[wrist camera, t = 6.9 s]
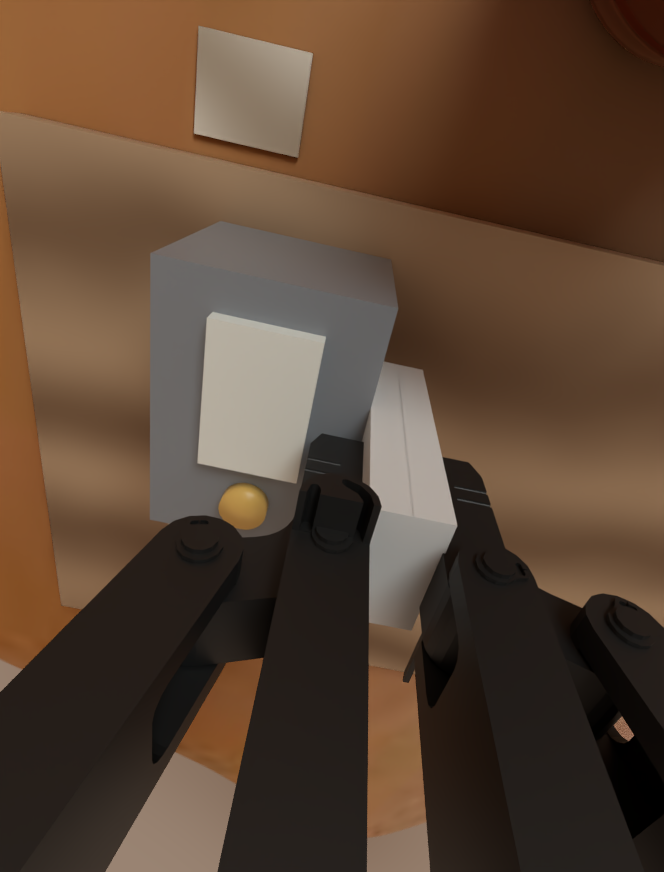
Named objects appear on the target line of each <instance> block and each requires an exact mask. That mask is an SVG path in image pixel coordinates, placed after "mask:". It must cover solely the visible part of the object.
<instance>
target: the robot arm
mask: <svg viewBox="0 0 664 872" xmlns="http://www.w3.org/2000/svg"><path fill="white" fill-rule="evenodd" d="M486 493H487V491H486V488H485V485H484V482H483V479H482V477H481V476H480V474H479V473H478V472H477V471H476V470H475V469H474V468H473V466H472V465H471V464H470V463H469V462H465V461H460V460H455V459H450V458H445V457H442V454H441V449H440V445H439V440H438V436H437V432H436V427H435V423H434V418H433V414H432V409H431V405H430V400H429V396H428V391H427V387H426V382H425V378H424V373H423V370H421V369H416V368H412V367H407V366H402V365H398V364H393V363H388V362H383V366H382V370H381V373H380V377H379V381H378V384H377V388H376V392H375V395H374V399H373V403H372V406H371V409H370V413H369V416H368V420H367V424H366V428H365V431H364V435H363V439H362V442H361V441H356V440H351V439H347V438H342V437H337V436H332V435H327V434H323V433H322V434H321V435H319V436H318V437H317V438H316V439H315V440H314V441H313V442H311V444H310V448H309V453H308V458H307V462H306V467H305V471H304V476H303V481H302V485H301V488H300V490H299V495H298V500H297V505H296V510H295V515H294V518H293V520H292V521H291V522H290V523H289V524H288V525H287V526H286V527H285V528H283V529H282V530H280V531H278V532H276V533H273V534H270V535H265V536H258V537H242V536H241V535H240V534H239V532H238V531H237V530H236V528H235V527H234V526H233V525H231V524H229V523H228V522H226V521H224V520H222V519H220V518H215V517H211V516H207V515H201V516H188V517H184V518H181V519H178V520H175V521H173V522H171V523H170V524H169V525H167V526H166V527H164V528H163V529H161V530H160V531H159V532H158V533H157V534H156V535H155V536H154V537H153V539H152V540H151V541H150V542H149V543H148V544H147V545H146V546H145V547H144V548H143V549H142V550H141V551H140V552H139V553H138V554H137V555H136V556H135V557H134V558H133V559H132V560H131V561H130V562H129V563H128V564H127V565H126V566H125V567H124V568H123V569H122V570H121V571H120V572H119V573H118V574H117V575H116V576H115V577H114V578H113V579H112V580H111V581H110V582H109V583H108V584H107V585H106V586H105V587H104V588H103V589H102V590H101V591H100V592H99V593H98V594H97V595H96V596H95V597H94V598H93V599H92V600H91V601H90V602H89V603H88V604H87V605H86V606H85V607H84V608H83V609H82V610H81V611H80V612H79V613H78V614H77V615H76V616H75V617H74V618H73V619H72V620H71V621H70V622H69V623H68V624H67V625H66V626H65V627H64V628H63V629H62V630H61V631H60V632H59V633H58V634H57V635H56V636H55V637H54V639H53V640H52V641H51V642H50V643H49V644H48V645H47V646H46V647H45V648H44V649H43V650H42V651H41V652H40V653H39V654H38V655H37V656H36V657H35V658H34V659H33V660H32V661H31V662H30V663H29V664H28V665H27V666H26V667H25V668H24V669H23V670H22V671H21V672H20V673H19V674H18V675H17V676H16V677H15V678H14V679H13V680H12V681H11V682H10V683H9V684H8V685H7V686H6V687H5V688H4V689H3V690H2V691H1V692H0V872H105V871H106V869H107V868H108V866H109V864H110V862H111V861H112V859H113V857H114V855H115V854H116V852H117V850H118V849H119V847H120V845H121V843H122V842H123V840H124V838H125V837H126V835H127V833H128V831H129V830H130V828H131V826H132V825H133V823H134V821H135V819H136V818H137V816H138V814H139V813H140V811H141V809H142V807H143V806H144V804H145V802H146V800H147V799H148V797H149V795H150V794H151V792H152V790H153V788H154V787H155V785H156V783H157V782H158V780H159V778H160V776H161V774H162V773H163V771H164V769H165V768H166V766H167V764H168V763H169V761H170V759H171V757H172V755H173V754H174V752H175V751H176V749H177V747H178V745H179V744H180V742H181V740H182V738H183V737H184V735H185V733H186V732H187V730H188V728H189V726H190V725H191V723H192V721H193V720H194V718H195V716H196V714H197V713H198V711H199V709H200V707H201V706H202V704H203V702H204V701H205V699H206V697H207V695H208V694H209V692H210V690H211V689H212V687H213V685H214V683H215V682H216V680H217V678H218V677H219V675H220V673H221V671H222V670H223V668H224V666H225V664H226V663H227V662H234V661H242V660H249V659H257V658H264V659H263V664H262V668H261V673H260V678H259V682H258V687H257V691H256V696H255V701H254V705H253V710H252V715H251V719H250V724H249V728H248V733H247V738H246V742H245V747H244V752H243V756H242V761H241V766H240V770H239V775H238V779H237V784H236V789H235V793H234V798H233V803H232V807H231V812H230V817H229V821H228V826H227V831H226V835H225V840H224V844H223V849H222V853H221V858H220V863H219V867H218V872H367V779H368V669H369V623H374V624H379V625H384V626H389V627H394V628H400V629H405V630H410V631H412V628H413V626H414V624H415V621H416V619H417V617H418V615H419V612H420V620H421V630H422V633H421V636H420V638H419V640H418V642H417V644H416V646H415V649H414V651H413V653H412V655H411V657H410V660H409V662H408V664H407V666H406V668H405V670H404V676H403V682H407V683H409V681H410V678H411V676H412V674H413V672H414V670H415V677H416V690H417V703H418V716H419V729H420V742H421V755H422V768H423V781H424V794H425V807H426V820H427V833H428V846H429V858H430V872H664V628H663V626H661V625H660V624H659V623H658V622H657V621H656V620H655V619H654V618H653V617H652V616H651V615H650V614H649V613H648V612H646V611H645V610H643V609H642V608H640V607H639V606H637V605H636V604H634V603H633V602H630V601H628V600H626V599H623V598H621V597H619V596H615V595H609V594H604V593H602V594H597V595H593V596H591V597H590V598H589V600H588V601H587V602H586V604H585V605H584V606H583V608H581V607H579V606H577V605H574V604H572V603H570V602H568V601H565V600H563V599H561V598H559V597H556V596H554V595H552V594H550V593H548V592H546V591H544V590H542V589H540V588H538V586H537V583H536V580H535V578H534V576H533V574H532V572H531V571H530V569H529V567H528V566H527V565H526V564H525V563H524V562H523V561H522V560H521V559H520V558H519V557H518V556H517V555H515V554H514V553H512V552H510V551H509V550H507V549H505V546H504V543H503V540H502V537H501V534H500V531H499V528H498V525H497V522H496V519H495V515H494V512H493V509H492V507H490V505H491V503H490V500H489V497H488V495H486ZM621 716H622V717H623V718H624V720H625V721H626V723H627V724H628V726H629V728H630V729H631V731H632V732H633V734H634V736H633V738H632V739H631V740H630V741H627V740H626V739H624V738H623V737H622V736H621V735H620V734H619V733H618V731H617V730H616V729H615V727H614V726H613V725H614V724H615V723H616V722H617V721H618V720H619V719H620V718H621Z"/></svg>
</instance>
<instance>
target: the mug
mask: <svg viewBox="0 0 664 872" xmlns="http://www.w3.org/2000/svg"><path fill="white" fill-rule="evenodd" d="M589 1H590V3H591V5H592V7H593V9H594V11H595V13H596V15H597V17H598V18H599V20H600V21H601V23H602V25H603V26H604V28H605V29H606V30H607V31H608V33H609V34H610V35H611V36H612V37H613V38H614V39H615V40H616V41H617V42H618V43H619V44H620V45H621V46H622V47H623V48H625V49H626V50H627V51H629V52H630V53H632V54H633V55H635V56H637V57H639V58H641V59H642V60H644V61H646V62H649V63H652V64H655V65H658V66H662V67H664V0H589Z"/></svg>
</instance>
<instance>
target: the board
mask: <svg viewBox="0 0 664 872" xmlns="http://www.w3.org/2000/svg"><path fill="white" fill-rule="evenodd" d="M312 58H313V53H309V52H305V51H301V50H297V49H293V48H289V47H285V46H281V45H276V44H272V43H268V42H264V41H260V40H256V39H252V38H248V37H244V36H239V35H235V34H231V33H227V32H223V31H219V30H215V29H211V28H206V27H202V26H199V30H198V53H197V75H196V98H195V121H194V134H199V135H203V136H207V137H211V138H216V139H220V140H224V141H229V142H233V143H237V144H241V145H246V146H250V147H254V148H258V149H263V150H267V151H271V152H276V153H280V154H284V155H288V156H293V157H297V158H298V156H299V149H300V142H301V135H302V128H303V121H304V114H305V107H306V100H307V93H308V86H309V79H310V72H311V65H312ZM0 163H1V171H2V178H3V185H4V193H5V200H6V207H7V214H8V222H9V229H10V236H11V243H12V251H13V258H14V265H15V273H16V280H17V287H18V294H19V302H20V309H21V316H22V323H23V331H24V338H25V345H26V352H27V360H28V367H29V374H30V382H31V389H32V396H33V403H34V411H35V418H36V425H37V432H38V440H39V447H40V454H41V461H42V469H43V476H44V483H45V491H46V498H47V505H48V512H49V520H50V527H51V534H52V541H53V549H54V556H55V563H56V570H57V578H58V585H59V592H60V600H61V606H66V607H72V608H77V609H83V608H84V607H85V606H86V605H87V604H88V603H89V602H90V601H91V600H92V599H93V598H94V597H95V596H96V595H97V594H98V593H99V592H100V591H101V590H102V589H103V588H104V587H105V586H106V585H107V584H108V583H109V582H110V581H111V580H112V579H113V578H114V577H115V576H116V575H117V574H118V573H119V572H120V571H121V570H122V569H123V568H124V567H125V566H126V565H127V564H128V563H129V562H130V561H131V560H132V559H133V558H134V557H135V556H136V555H137V554H138V553H139V552H140V551H141V550H142V549H143V548H144V547H145V546H146V545H147V544H148V543H149V542H150V541H151V540H152V539H153V537H154V536H155V535H156V534H157V533H158V532H159V531H160V530H161V529H163V528H164V527H166V526H167V525H169V523H164V522H159V521H154V520H150V253H152V252H154V251H156V250H159V249H161V248H163V247H165V246H167V245H169V244H172V243H174V242H176V241H178V240H180V239H182V238H185V237H187V236H189V235H191V234H193V233H196V232H198V231H200V230H202V229H204V228H206V227H209V226H211V225H213V224H215V223H217V222H219V221H222V222H227V223H231V224H236V225H240V226H245V227H249V228H253V229H258V230H262V231H267V232H271V233H276V234H280V235H284V236H289V237H293V238H298V239H302V240H307V241H311V242H315V243H320V244H324V245H329V246H333V247H337V248H342V249H346V250H351V251H355V252H360V253H364V254H368V255H373V256H377V257H382V258H386V259H391V262H392V269H393V276H394V283H395V289H396V296H397V303H398V311H397V315H396V319H395V322H394V326H393V329H392V333H391V337H390V340H389V344H388V348H387V351H386V355H385V359H384V362H388V363H393V364H398V365H402V366H407V367H412V368H416V369H421V370H423V373H424V378H425V382H426V387H427V391H428V396H429V400H430V405H431V409H432V414H433V418H434V423H435V427H436V432H437V436H438V440H439V445H440V449H441V454H442V457H445V458H450V459H455V460H460V461H465V462H469V463H470V464H471V465H472V466H473V468H474V469H475V470H476V471H477V472H478V473H479V474H480V476H481V477H482V479H483V482H484V485H485V488H486V491H487V493H486V495H488V497H489V500H490V503H491V505H490V507H492V509H493V512H494V515H495V519H496V522H497V525H498V528H499V531H500V534H501V537H502V540H503V543H504V546H505V549H507V550H509V551H510V552H512V553H514V554H515V555H517V556H518V557H519V558H520V559H521V560H522V561H523V562H524V563H525V564H526V565H527V566H528V567H529V569H530V571H531V572H532V574H533V576H534V578H535V580H536V583H537V586H538V588H540V589H542V590H544V591H546V592H548V593H550V594H552V595H554V596H556V597H559V598H561V599H563V600H565V601H568V602H570V603H572V604H574V605H577V606H579V607H581V608H583V606H584V605H585V604H586V602H587V601H588V600H589V598H590V597H591V596H593V595H597V594H602V593H604V594H609V595H615V596H619V597H621V598H623V599H626V600H628V601H630V602H633V603H634V604H636V605H637V606H639V607H640V608H642V609H643V610H645V611H646V612H648V613H649V614H650V615H651V616H652V617H653V618H654V619H655V620H656V621H657V622H658V623H659V624H660V625H661V626H663V628H664V262H659V261H655V260H651V259H647V258H642V257H638V256H634V255H629V254H625V253H621V252H616V251H612V250H608V249H603V248H599V247H595V246H591V245H586V244H582V243H578V242H573V241H569V240H565V239H560V238H556V237H552V236H548V235H543V234H539V233H535V232H530V231H526V230H522V229H517V228H513V227H509V226H504V225H500V224H496V223H492V222H487V221H483V220H479V219H474V218H470V217H466V216H461V215H457V214H453V213H448V212H444V211H440V210H436V209H431V208H427V207H423V206H418V205H414V204H410V203H405V202H401V201H397V200H392V199H388V198H384V197H380V196H375V195H371V194H367V193H362V192H358V191H354V190H349V189H345V188H341V187H337V186H332V185H328V184H324V183H319V182H315V181H311V180H306V179H302V178H298V177H293V176H289V175H285V174H281V173H276V172H272V171H268V170H263V169H259V168H255V167H250V166H246V165H242V164H237V163H233V162H229V161H225V160H220V159H216V158H212V157H207V156H203V155H199V154H194V153H190V152H186V151H181V150H177V149H173V148H169V147H164V146H160V145H156V144H151V143H147V142H143V141H138V140H134V139H130V138H126V137H121V136H117V135H113V134H108V133H104V132H100V131H95V130H91V129H87V128H82V127H78V126H74V125H70V124H65V123H61V122H57V121H52V120H48V119H44V118H39V117H35V116H31V115H26V114H22V113H13V112H4V111H0ZM421 633H422V630H421V620H420V612H419V615H418V617H417V619H416V621H415V624H414V626H413V628H412V631H410V630H405V629H400V628H394V627H389V626H384V625H379V624H374V623H369V665H370V666H376V667H381V668H386V669H391V670H396V671H401V672H404V670H405V668H406V666H407V664H408V662H409V660H410V657H411V655H412V653H413V651H414V649H415V646H416V644H417V642H418V640H419V638H420V636H421ZM413 674H415V670H414V672H413Z"/></svg>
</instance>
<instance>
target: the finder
mask: <svg viewBox="0 0 664 872" xmlns="http://www.w3.org/2000/svg"><path fill="white" fill-rule="evenodd" d="M397 311H398V303H397V296H396V289H395V283H394V276H393V269H392V262H391V259H386V258H382V257H377V256H373V255H368V254H364V253H360V252H355V251H351V250H346V249H342V248H337V247H333V246H329V245H324V244H320V243H315V242H311V241H307V240H302V239H298V238H293V237H289V236H284V235H280V234H276V233H271V232H267V231H262V230H258V229H253V228H249V227H245V226H240V225H236V224H231V223H227V222H222V221H219V222H217V223H215V224H213V225H211V226H209V227H206V228H204V229H202V230H200V231H198V232H196V233H193V234H191V235H189V236H187V237H185V238H182V239H180V240H178V241H176V242H174V243H172V244H169V245H167V246H165V247H163V248H161V249H159V250H156V251H154V252H152V253H150V520H154V521H159V522H164V523H169V524H170V523H171V522H173V521H175V520H178V519H181V518H184V517H188V516H201V515H207V516H211V517H215V518H220V519H222V520H224V521H226V522H228V523H229V524H231V525H233V526H234V527H235V528H236V530H237V531H238V532H239V534H240V535H241V536H242V537H258V536H265V535H270V534H273V533H276V532H278V531H280V530H282V529H283V528H285V527H286V526H287V525H288V524H289V523H290V522H291V521H292V520H293V518H294V515H295V510H296V505H297V500H298V495H299V490H300V488H301V485H302V481H303V476H304V471H305V467H306V462H307V458H308V453H309V448H310V444H311V442H313V441H314V440H315V439H316V438H317V437H318V436H319V435H321V434H322V433H323V434H327V435H332V436H337V437H342V438H347V439H351V440H356V441H361V442H362V439H363V435H364V431H365V428H366V424H367V420H368V416H369V413H370V409H371V406H372V403H373V399H374V395H375V392H376V388H377V384H378V381H379V377H380V373H381V370H382V366H383V362H384V359H385V355H386V351H387V348H388V344H389V340H390V337H391V333H392V329H393V326H394V322H395V319H396V315H397Z"/></svg>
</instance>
